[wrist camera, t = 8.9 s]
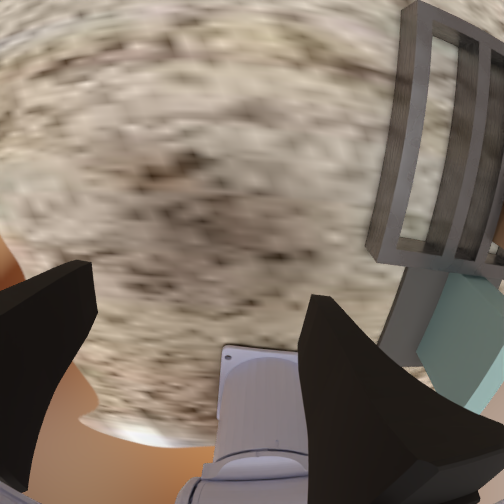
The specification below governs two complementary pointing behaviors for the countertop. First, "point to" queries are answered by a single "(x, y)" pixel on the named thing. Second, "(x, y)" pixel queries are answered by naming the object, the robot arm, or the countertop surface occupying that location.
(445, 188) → the rack
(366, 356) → the robot arm
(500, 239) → the walnut offcut
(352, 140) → the countertop surface
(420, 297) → the dark grey square plate
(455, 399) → the teal panel
